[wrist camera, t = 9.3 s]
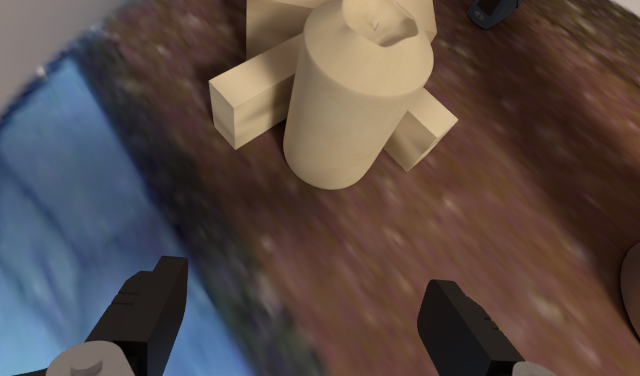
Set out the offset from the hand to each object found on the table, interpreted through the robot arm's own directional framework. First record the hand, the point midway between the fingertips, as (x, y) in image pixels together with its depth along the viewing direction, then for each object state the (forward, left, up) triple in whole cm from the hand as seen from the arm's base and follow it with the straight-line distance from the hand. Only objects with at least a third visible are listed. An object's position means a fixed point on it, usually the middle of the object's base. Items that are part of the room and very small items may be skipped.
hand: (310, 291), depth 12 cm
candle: (-2, -10, -7) cm, 12 cm away
